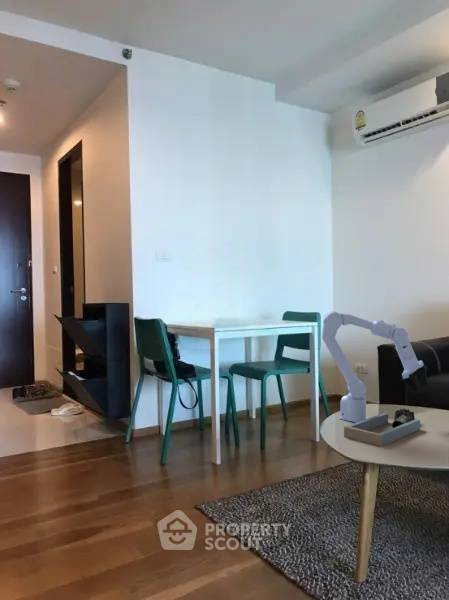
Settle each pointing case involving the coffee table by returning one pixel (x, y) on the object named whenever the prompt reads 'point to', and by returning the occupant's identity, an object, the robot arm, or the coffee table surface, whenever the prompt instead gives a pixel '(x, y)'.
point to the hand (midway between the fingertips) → (421, 389)
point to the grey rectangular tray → (361, 433)
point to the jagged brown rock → (402, 417)
